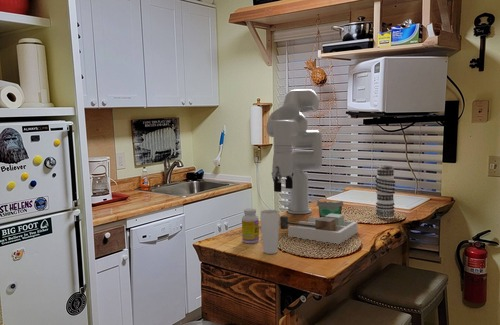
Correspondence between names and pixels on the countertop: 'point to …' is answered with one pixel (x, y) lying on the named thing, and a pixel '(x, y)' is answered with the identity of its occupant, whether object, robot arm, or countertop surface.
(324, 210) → the food container
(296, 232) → the white tray
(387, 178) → the decorative candle
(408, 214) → the countertop surface
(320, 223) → the brown block with stick
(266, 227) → the drinking glass
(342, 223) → the sage block
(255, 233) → the supplement bottle
